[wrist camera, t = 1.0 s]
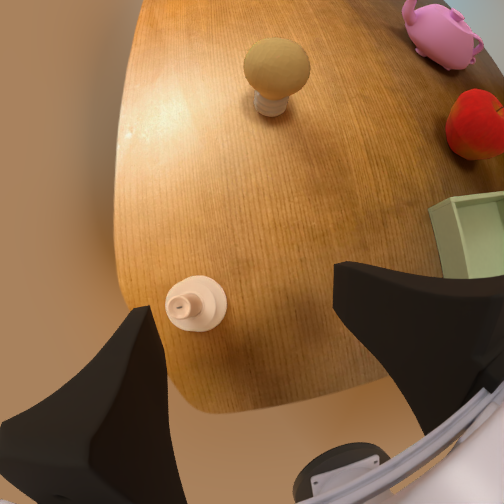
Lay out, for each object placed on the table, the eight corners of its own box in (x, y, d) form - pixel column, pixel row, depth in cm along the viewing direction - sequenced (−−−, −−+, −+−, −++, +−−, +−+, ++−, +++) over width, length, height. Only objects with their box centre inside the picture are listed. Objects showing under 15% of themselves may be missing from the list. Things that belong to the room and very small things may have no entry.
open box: (512, 282, 29) (532, 280, 24) (449, 316, 27) (473, 317, 23) (494, 198, 30) (513, 189, 26) (427, 208, 29) (449, 197, 25)
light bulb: (293, 89, 30) (310, 29, 20) (299, 130, 29) (322, 70, 20) (241, 87, 30) (244, 24, 20) (241, 128, 29) (245, 65, 19)
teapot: (385, 47, 33) (412, -2, 21) (377, 11, 36) (397, -30, 24) (473, 94, 34) (507, 61, 22) (456, 52, 36) (482, 20, 24)
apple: (482, 170, 31) (533, 140, 19) (449, 175, 30) (508, 138, 18) (457, 118, 32) (500, 80, 20) (422, 116, 31) (468, 69, 19)
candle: (219, 269, 27) (209, 253, 16) (233, 324, 26) (231, 342, 16) (166, 282, 26) (126, 274, 16) (179, 336, 25) (147, 359, 15)
